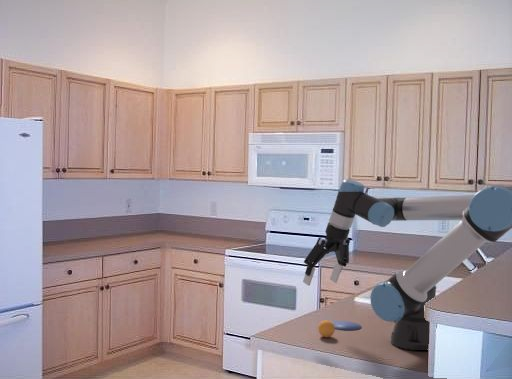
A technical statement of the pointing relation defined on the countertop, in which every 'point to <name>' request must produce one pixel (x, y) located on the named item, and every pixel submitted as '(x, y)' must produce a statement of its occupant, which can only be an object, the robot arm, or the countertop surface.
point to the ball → (326, 328)
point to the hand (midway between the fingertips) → (320, 282)
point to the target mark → (346, 325)
